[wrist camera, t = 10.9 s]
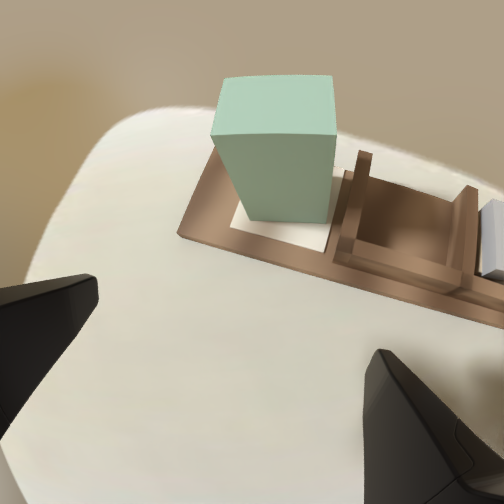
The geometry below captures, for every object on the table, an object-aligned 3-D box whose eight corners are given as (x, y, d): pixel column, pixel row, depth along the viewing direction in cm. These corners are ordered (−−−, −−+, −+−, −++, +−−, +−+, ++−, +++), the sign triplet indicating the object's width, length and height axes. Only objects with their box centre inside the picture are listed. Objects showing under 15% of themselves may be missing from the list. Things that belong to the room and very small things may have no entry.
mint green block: (326, 175, 22) (332, 75, 13) (325, 223, 21) (336, 135, 12) (255, 173, 23) (224, 78, 14) (249, 220, 22) (210, 135, 13)
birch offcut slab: (514, 236, 18) (527, 227, 16) (511, 293, 17) (525, 288, 15) (471, 218, 19) (482, 207, 18) (466, 278, 18) (479, 271, 16)
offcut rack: (525, 239, 19) (549, 223, 15) (518, 333, 17) (546, 328, 13) (219, 150, 26) (206, 122, 22) (181, 237, 24) (159, 218, 20)
